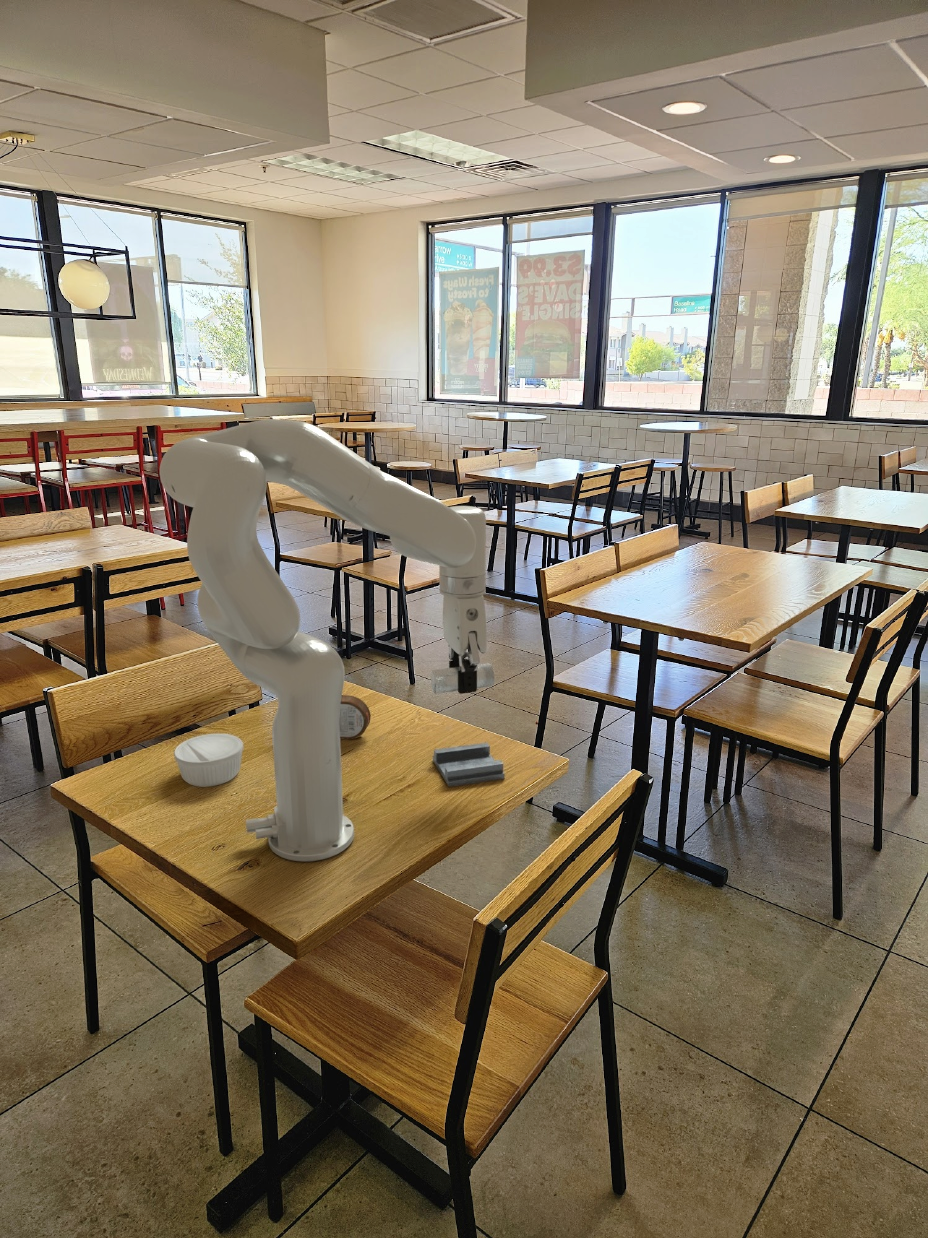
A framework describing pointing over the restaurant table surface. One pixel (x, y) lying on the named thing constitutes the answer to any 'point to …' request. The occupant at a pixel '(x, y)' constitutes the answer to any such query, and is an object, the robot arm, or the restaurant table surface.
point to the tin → (353, 717)
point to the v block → (467, 764)
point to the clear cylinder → (449, 678)
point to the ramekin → (209, 759)
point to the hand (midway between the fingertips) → (462, 685)
